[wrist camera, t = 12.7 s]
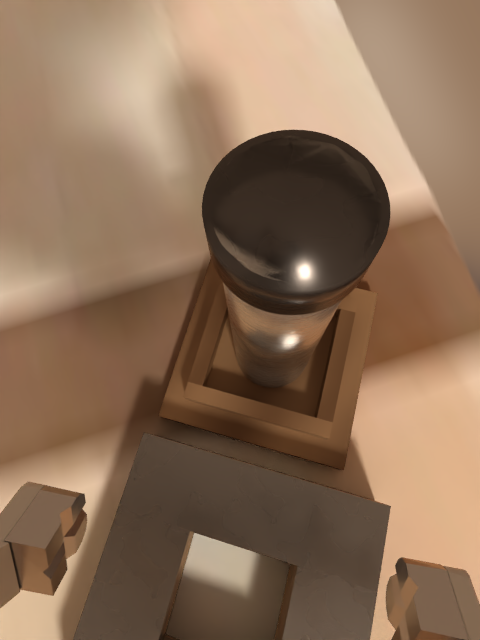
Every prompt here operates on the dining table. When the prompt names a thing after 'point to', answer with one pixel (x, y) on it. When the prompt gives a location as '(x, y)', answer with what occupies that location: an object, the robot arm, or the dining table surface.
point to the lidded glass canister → (290, 243)
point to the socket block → (240, 530)
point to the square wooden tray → (272, 403)
